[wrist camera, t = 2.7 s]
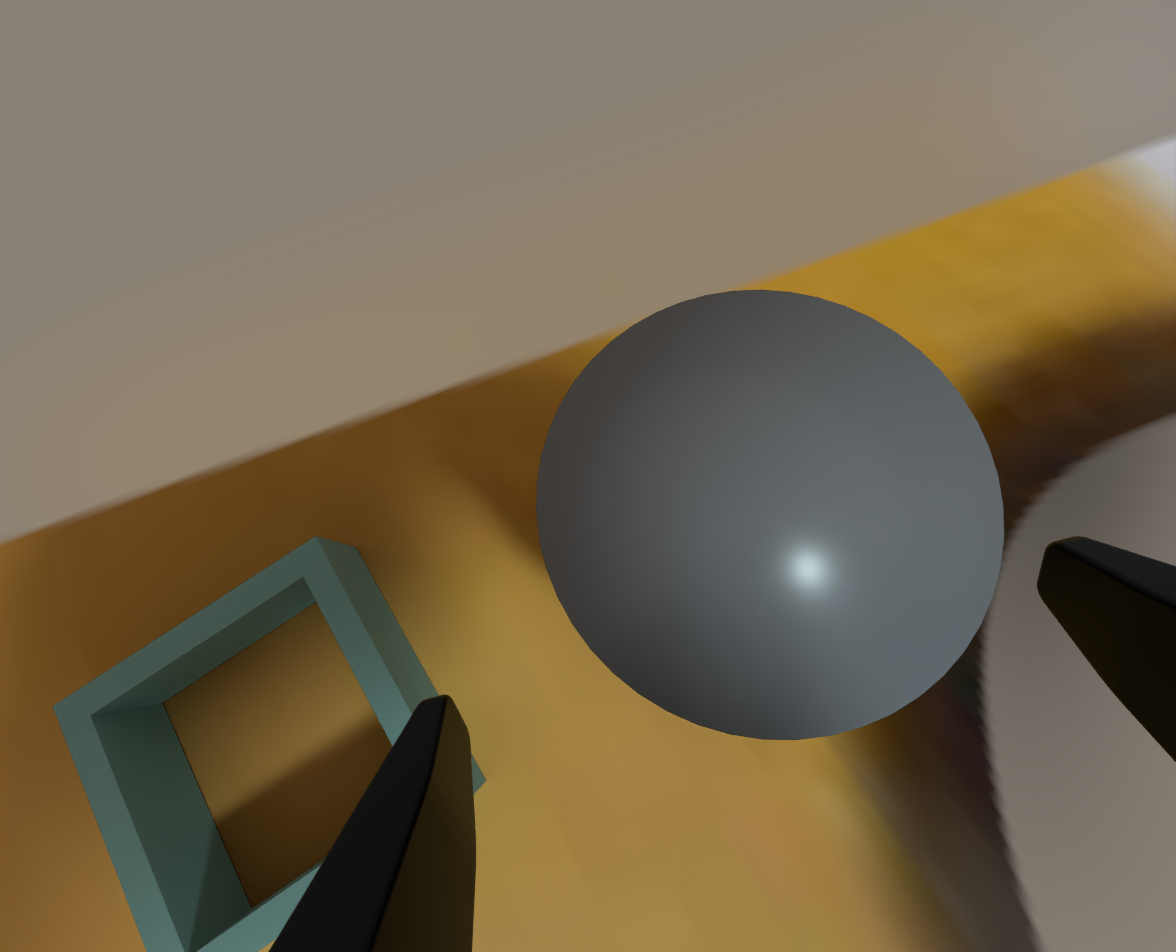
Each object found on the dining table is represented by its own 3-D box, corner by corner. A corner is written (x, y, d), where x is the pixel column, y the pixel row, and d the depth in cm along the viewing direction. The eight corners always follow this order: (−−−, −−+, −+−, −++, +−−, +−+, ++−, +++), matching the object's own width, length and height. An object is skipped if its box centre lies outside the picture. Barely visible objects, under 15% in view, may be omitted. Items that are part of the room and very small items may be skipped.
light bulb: (778, 543, 18) (1084, 382, 6) (715, 692, 17) (921, 865, 5) (635, 478, 19) (644, 216, 7) (567, 616, 18) (437, 607, 6)
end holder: (486, 780, 17) (462, 807, 14) (238, 954, 16) (170, 1013, 14) (355, 547, 19) (315, 536, 16) (129, 694, 18) (52, 706, 16)
